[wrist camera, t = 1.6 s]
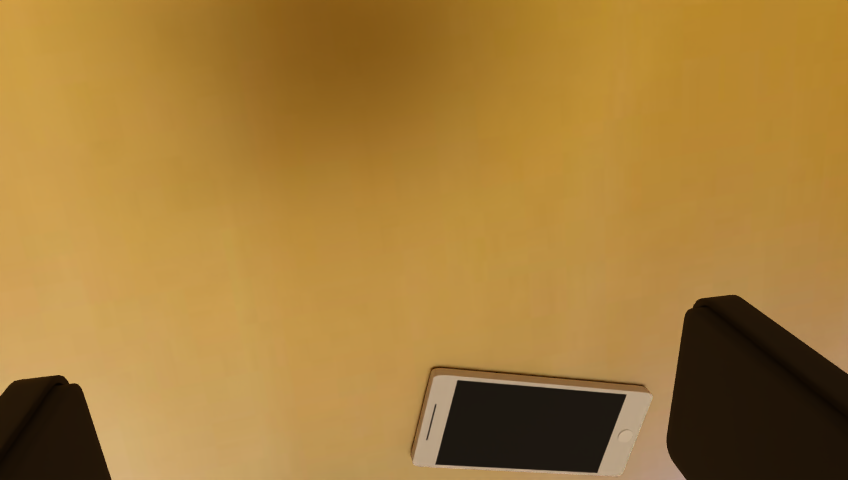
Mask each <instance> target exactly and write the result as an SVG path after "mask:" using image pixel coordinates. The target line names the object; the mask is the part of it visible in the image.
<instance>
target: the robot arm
mask: <svg viewBox="0 0 848 480" xmlns="http://www.w3.org/2000/svg"><path fill="white" fill-rule="evenodd" d="M667 448H668V452H669V455H670V457H671V459H672V461H673V462H674V464H675V465H676V466H677V468H678V469H679V470H680V472H681V473H682V474H683V476H684V477H685V478H686V480H848V374H847V373H845V372H844V371H843V370H841V369H840V368H838V367H837V366H836V365H834V364H833V363H831V362H830V361H829V360H827V359H826V358H825V357H823V356H822V355H820V354H819V353H818V352H816V351H815V350H813V349H812V348H811V347H809V346H808V345H806V344H805V343H804V342H802V341H801V340H799V339H798V338H797V337H795V336H794V335H792V334H791V333H790V332H788V331H787V330H785V329H784V328H783V327H781V326H780V325H779V324H777V323H776V322H774V321H773V320H772V319H770V318H769V317H767V316H766V315H765V314H763V313H762V312H760V311H759V310H758V309H756V308H755V307H753V306H752V305H751V304H749V303H748V302H746V301H745V300H744V299H742V298H741V297H739V296H737V295H726V296H718V297H710V298H701V299H699V300H697V301H696V303H695V304H694V306H693V308H692V309H689V310H688V311H687V312H686V314H685V318H684V324H683V330H682V337H681V344H680V351H679V357H678V364H677V371H676V378H675V384H674V391H673V398H672V404H671V411H670V418H669V425H668V431H667ZM0 480H111V477H110V474H109V471H108V468H107V465H106V462H105V458H104V455H103V452H102V449H101V446H100V443H99V440H98V437H97V434H96V431H95V428H94V425H93V421H92V418H91V415H90V412H89V409H88V406H87V403H86V400H85V397H84V394H83V391H82V389H81V387H80V386H79V385H78V384H75V383H74V384H69V383H68V381H67V380H66V378H65V377H63V376H61V375H56V376H47V377H39V378H31V379H22V380H17V381H14V382H13V383H11V384H10V385H9V386H8V387H7V389H6V390H5V391H4V392H3V394H2V395H1V396H0Z"/></svg>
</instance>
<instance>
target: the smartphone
mask: <svg viewBox="0 0 848 480" xmlns="http://www.w3.org/2000/svg"><path fill="white" fill-rule="evenodd" d="M652 398H653V395H652V394H651V393H650V392H649V391H648V389H647V388H646V387H643V386H637V385H625V384H614V383H603V382H592V381H581V380H570V379H559V378H547V377H536V376H525V375H514V374H503V373H492V372H480V371H469V370H458V369H447V368H436V369H433V370H432V371H431V374H430V378H429V383H428V387H427V391H426V395H425V399H424V403H423V407H422V411H421V415H420V419H419V423H418V428H417V432H416V436H415V440H414V444H413V448H412V452H411V457H412V462H413V464H414V465H416V466H420V467H437V468H457V469H477V470H497V471H516V472H536V473H556V474H576V475H596V476H619V475H622V473H623V471H624V469H625V466H626V464H627V461H628V459H629V456H630V454H631V451H632V449H633V446H634V443H635V441H636V438H637V436H638V433H639V431H640V428H641V426H642V423H643V421H644V418H645V416H646V413H647V411H648V408H649V406H650V403H651V401H652Z"/></svg>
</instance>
